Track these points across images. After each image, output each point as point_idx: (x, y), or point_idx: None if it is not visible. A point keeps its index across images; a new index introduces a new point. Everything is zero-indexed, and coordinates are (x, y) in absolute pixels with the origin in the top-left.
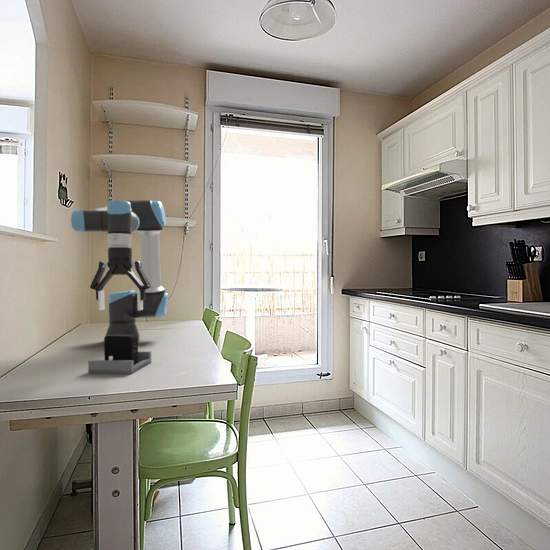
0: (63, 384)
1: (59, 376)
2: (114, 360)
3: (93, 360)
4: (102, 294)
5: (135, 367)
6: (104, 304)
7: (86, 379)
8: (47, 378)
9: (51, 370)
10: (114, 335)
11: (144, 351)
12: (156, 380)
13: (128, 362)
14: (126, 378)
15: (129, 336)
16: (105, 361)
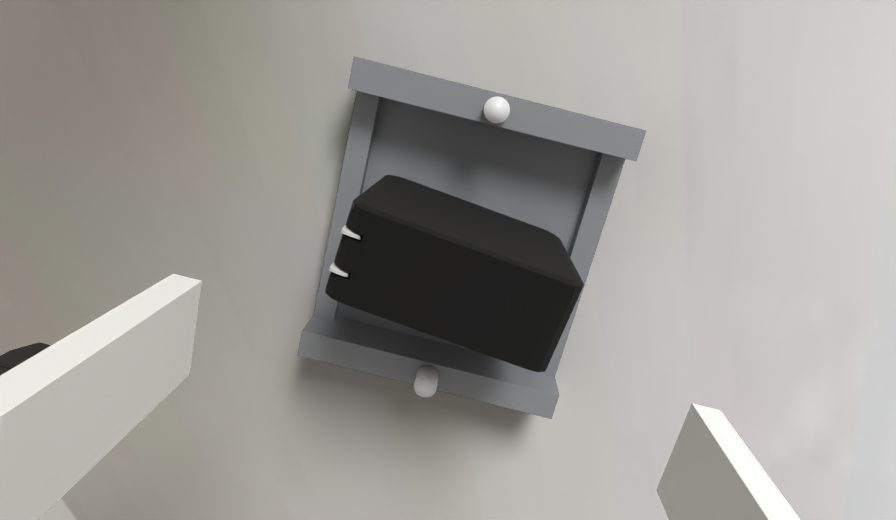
0: (278, 496)
1: (196, 359)
2: (447, 374)
3: (324, 349)
4: (56, 444)
5: (560, 354)
6: (166, 310)
7: (348, 437)
8: None
9: (90, 222)
10: (400, 295)
11: (596, 123)
12: None
13: (533, 410)
14: (532, 457)
15: (533, 367)
16: (399, 379)
